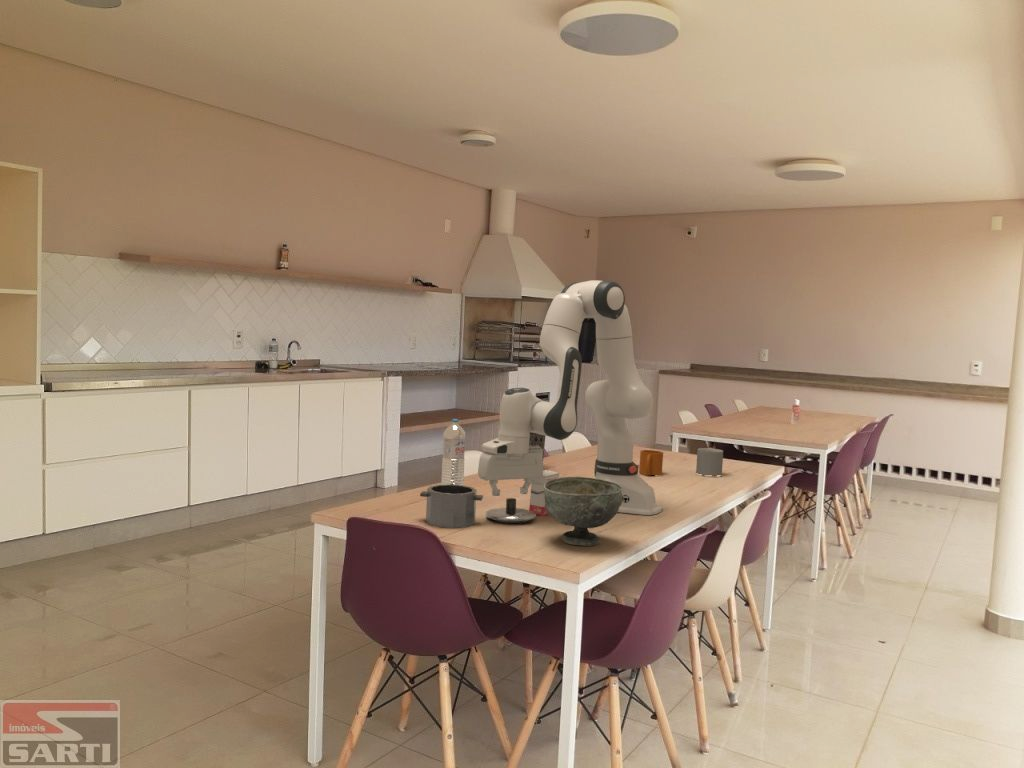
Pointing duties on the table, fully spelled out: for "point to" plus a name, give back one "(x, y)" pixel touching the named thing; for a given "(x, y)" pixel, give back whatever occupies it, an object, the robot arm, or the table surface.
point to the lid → (510, 513)
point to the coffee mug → (709, 461)
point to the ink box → (540, 492)
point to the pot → (451, 505)
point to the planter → (537, 440)
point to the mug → (651, 462)
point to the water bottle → (453, 455)
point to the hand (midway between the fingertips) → (509, 494)
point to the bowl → (582, 505)
